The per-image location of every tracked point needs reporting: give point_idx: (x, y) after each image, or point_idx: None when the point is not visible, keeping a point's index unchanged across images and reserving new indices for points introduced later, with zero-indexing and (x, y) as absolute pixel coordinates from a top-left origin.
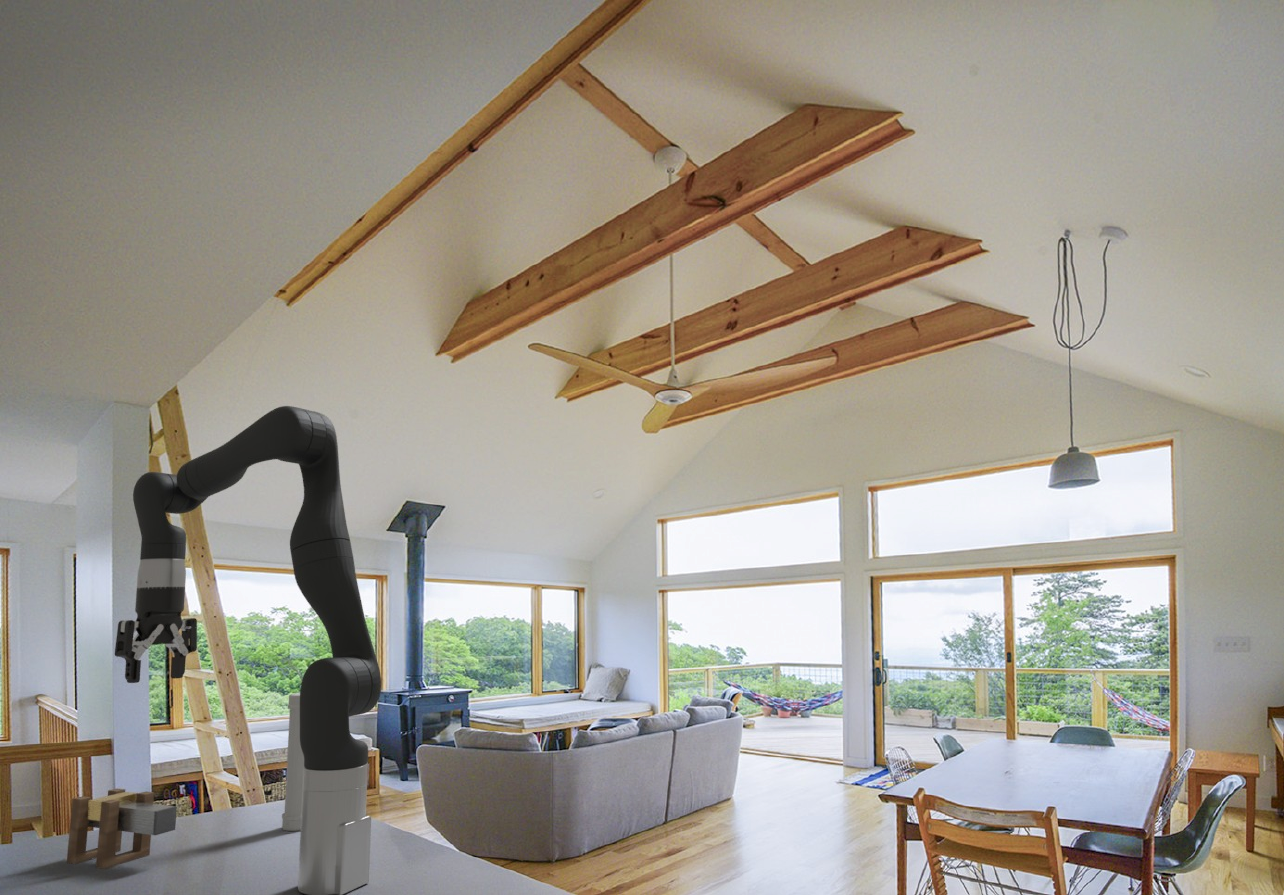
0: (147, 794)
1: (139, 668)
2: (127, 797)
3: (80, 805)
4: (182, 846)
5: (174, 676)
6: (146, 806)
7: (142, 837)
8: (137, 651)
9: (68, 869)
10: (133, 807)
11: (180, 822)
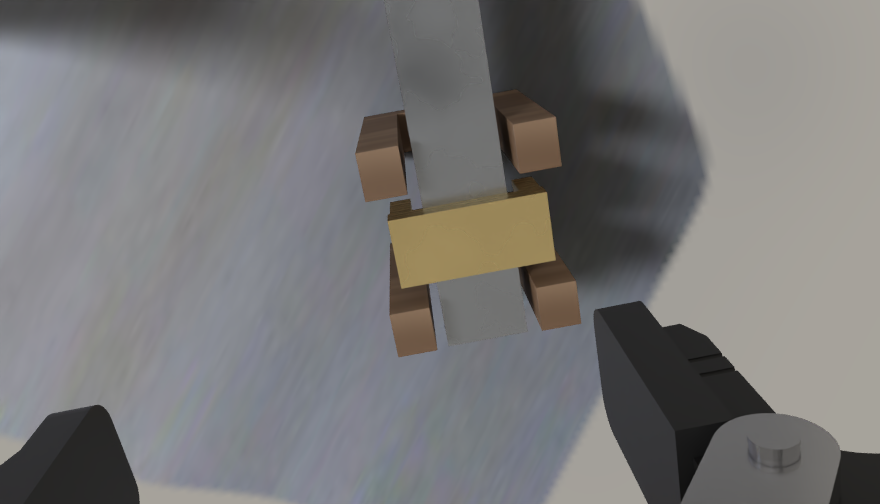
0: (387, 147)
1: (651, 366)
2: (433, 209)
3: (569, 272)
4: (251, 120)
5: (119, 472)
6: (437, 49)
7: (394, 120)
8: (819, 495)
9: (569, 180)
10: (473, 80)
11: (113, 408)
